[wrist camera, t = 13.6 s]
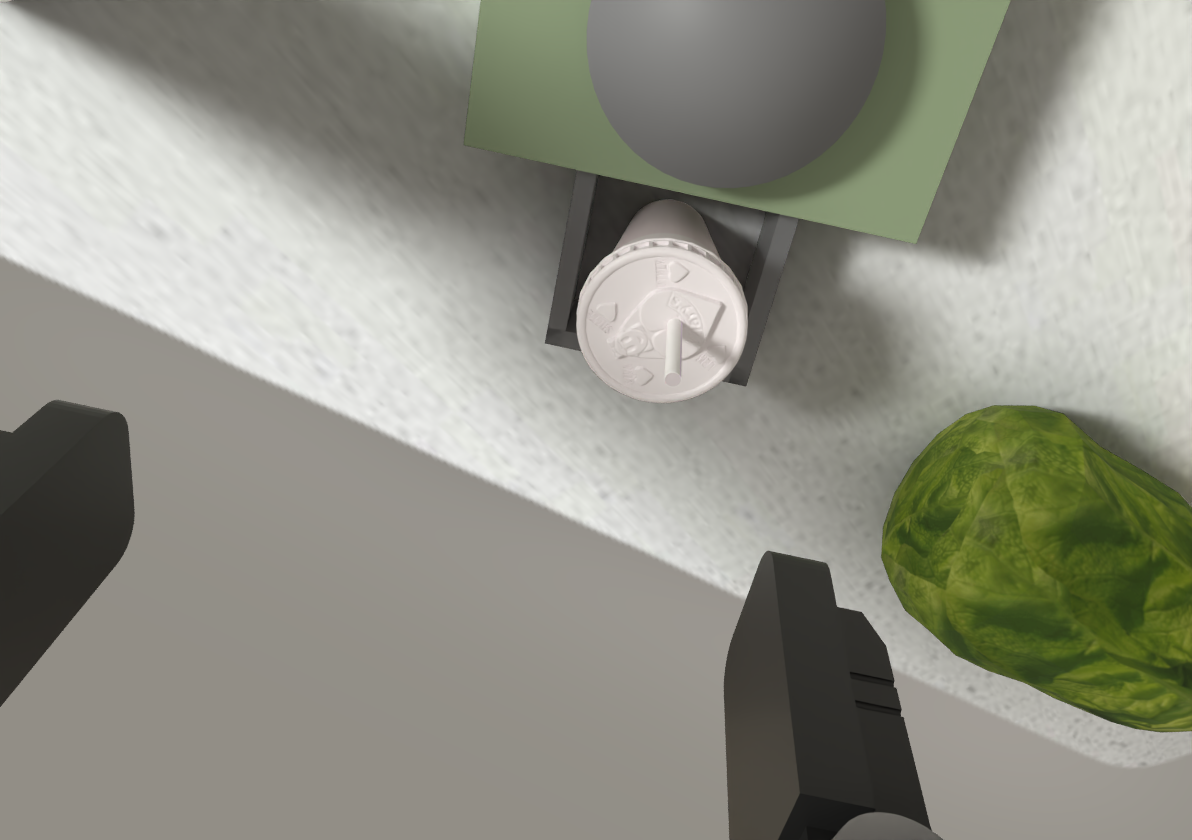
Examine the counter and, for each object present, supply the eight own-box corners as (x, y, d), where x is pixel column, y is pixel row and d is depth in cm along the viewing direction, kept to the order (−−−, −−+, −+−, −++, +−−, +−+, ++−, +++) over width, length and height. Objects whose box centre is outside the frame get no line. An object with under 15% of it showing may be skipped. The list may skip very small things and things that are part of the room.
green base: (464, 291, 45) (429, 358, 39) (530, -213, 35) (496, -229, 29) (831, 370, 46) (852, 448, 40) (1006, -105, 35) (1070, -98, 29)
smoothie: (760, 271, 44) (786, 428, 32) (634, 324, 45) (613, 492, 33) (703, 143, 41) (707, 262, 29) (571, 206, 43) (525, 342, 31)
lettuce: (1125, 672, 54) (1221, 851, 44) (830, 503, 50) (863, 659, 40) (1301, 538, 48) (1454, 709, 39) (985, 336, 44) (1067, 470, 35)
